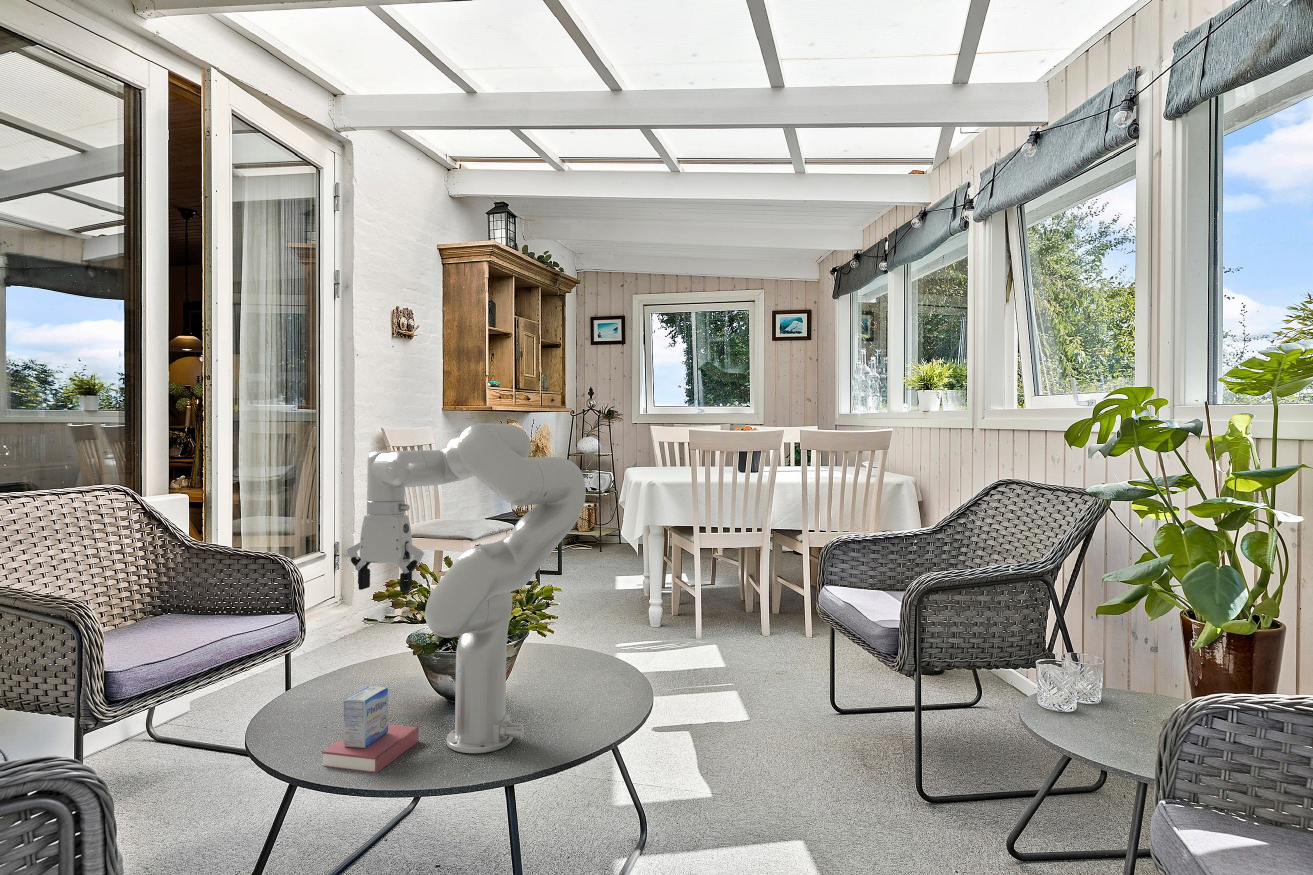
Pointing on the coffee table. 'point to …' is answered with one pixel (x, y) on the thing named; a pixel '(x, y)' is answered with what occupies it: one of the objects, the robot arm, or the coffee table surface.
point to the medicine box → (365, 717)
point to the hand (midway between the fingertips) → (384, 589)
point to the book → (372, 750)
